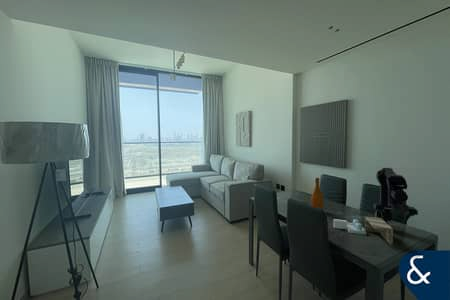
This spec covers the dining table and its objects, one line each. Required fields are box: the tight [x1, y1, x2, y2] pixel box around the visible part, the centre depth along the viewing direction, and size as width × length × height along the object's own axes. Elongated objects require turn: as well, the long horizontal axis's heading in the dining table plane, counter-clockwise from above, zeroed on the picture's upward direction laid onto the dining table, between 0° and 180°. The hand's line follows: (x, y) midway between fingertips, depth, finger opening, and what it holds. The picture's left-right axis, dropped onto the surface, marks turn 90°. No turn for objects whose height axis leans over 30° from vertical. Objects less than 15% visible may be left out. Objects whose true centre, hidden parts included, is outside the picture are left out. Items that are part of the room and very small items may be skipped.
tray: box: [333, 218, 367, 236], centre depth 135 cm, size 12×18×6 cm, turn 71°
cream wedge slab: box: [364, 216, 394, 246], centre depth 123 cm, size 16×9×10 cm, turn 161°
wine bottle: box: [310, 177, 324, 211], centre depth 167 cm, size 10×10×30 cm
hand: (394, 222), depth 113 cm, fingers open, 9 cm apart
